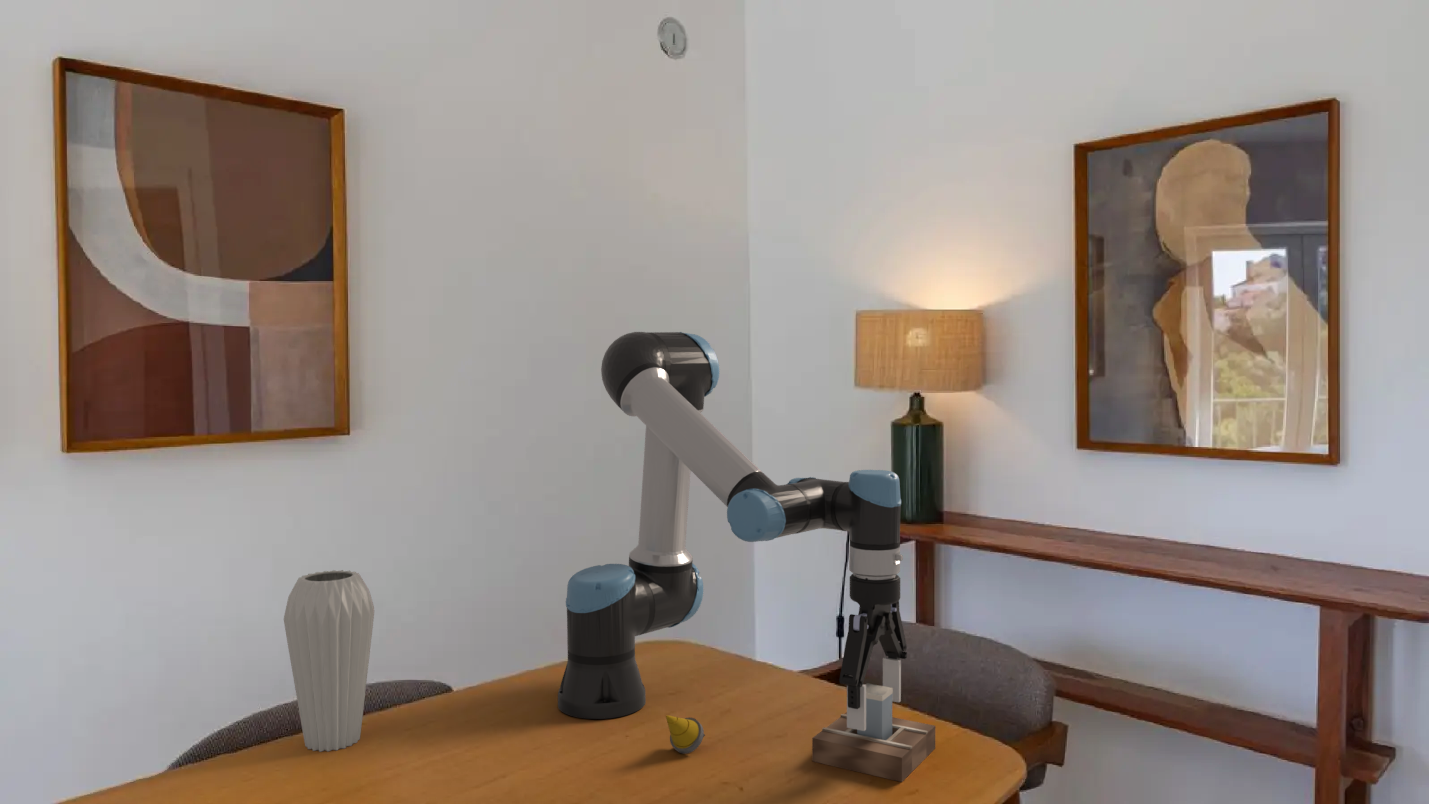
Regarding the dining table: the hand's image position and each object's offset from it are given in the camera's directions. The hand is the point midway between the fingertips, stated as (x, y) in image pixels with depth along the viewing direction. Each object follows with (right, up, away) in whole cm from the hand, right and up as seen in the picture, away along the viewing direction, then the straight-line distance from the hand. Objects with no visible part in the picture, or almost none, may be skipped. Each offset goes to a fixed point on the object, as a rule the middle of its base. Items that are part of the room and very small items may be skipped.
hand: (874, 714), depth 148 cm
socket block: (0, -6, 0) cm, 6 cm away
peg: (0, -6, 0) cm, 6 cm away
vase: (-84, -7, +7) cm, 85 cm away
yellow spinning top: (-29, -7, +2) cm, 29 cm away
